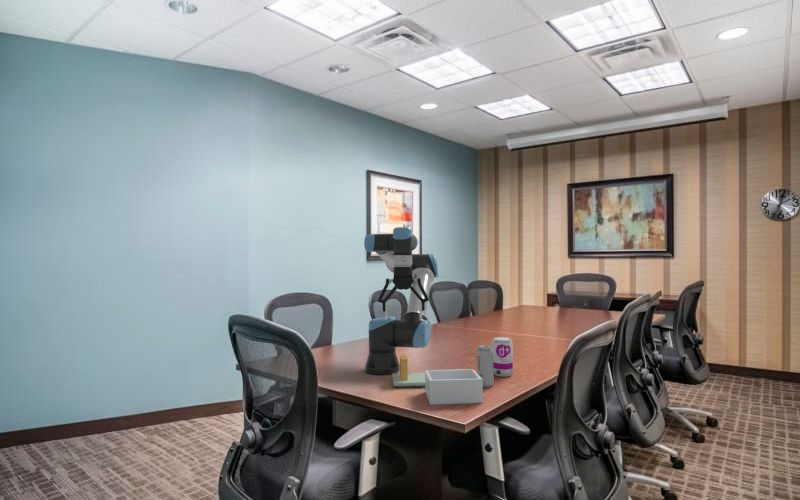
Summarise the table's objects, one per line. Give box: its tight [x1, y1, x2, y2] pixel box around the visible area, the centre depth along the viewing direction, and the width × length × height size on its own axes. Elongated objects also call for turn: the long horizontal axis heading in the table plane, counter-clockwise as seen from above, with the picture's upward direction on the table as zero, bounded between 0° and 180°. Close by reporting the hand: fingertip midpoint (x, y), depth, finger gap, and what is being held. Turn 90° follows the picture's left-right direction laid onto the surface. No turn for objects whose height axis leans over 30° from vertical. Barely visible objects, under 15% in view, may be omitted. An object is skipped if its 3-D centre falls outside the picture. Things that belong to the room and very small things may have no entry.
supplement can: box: [491, 336, 514, 378], centre depth 189 cm, size 8×8×15 cm
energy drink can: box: [476, 344, 495, 388], centre depth 174 cm, size 6×6×15 cm
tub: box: [424, 368, 484, 405], centre depth 160 cm, size 18×14×8 cm
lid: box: [391, 354, 425, 388], centre depth 179 cm, size 19×15×10 cm
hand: (403, 319), depth 180 cm, fingers open, 13 cm apart
